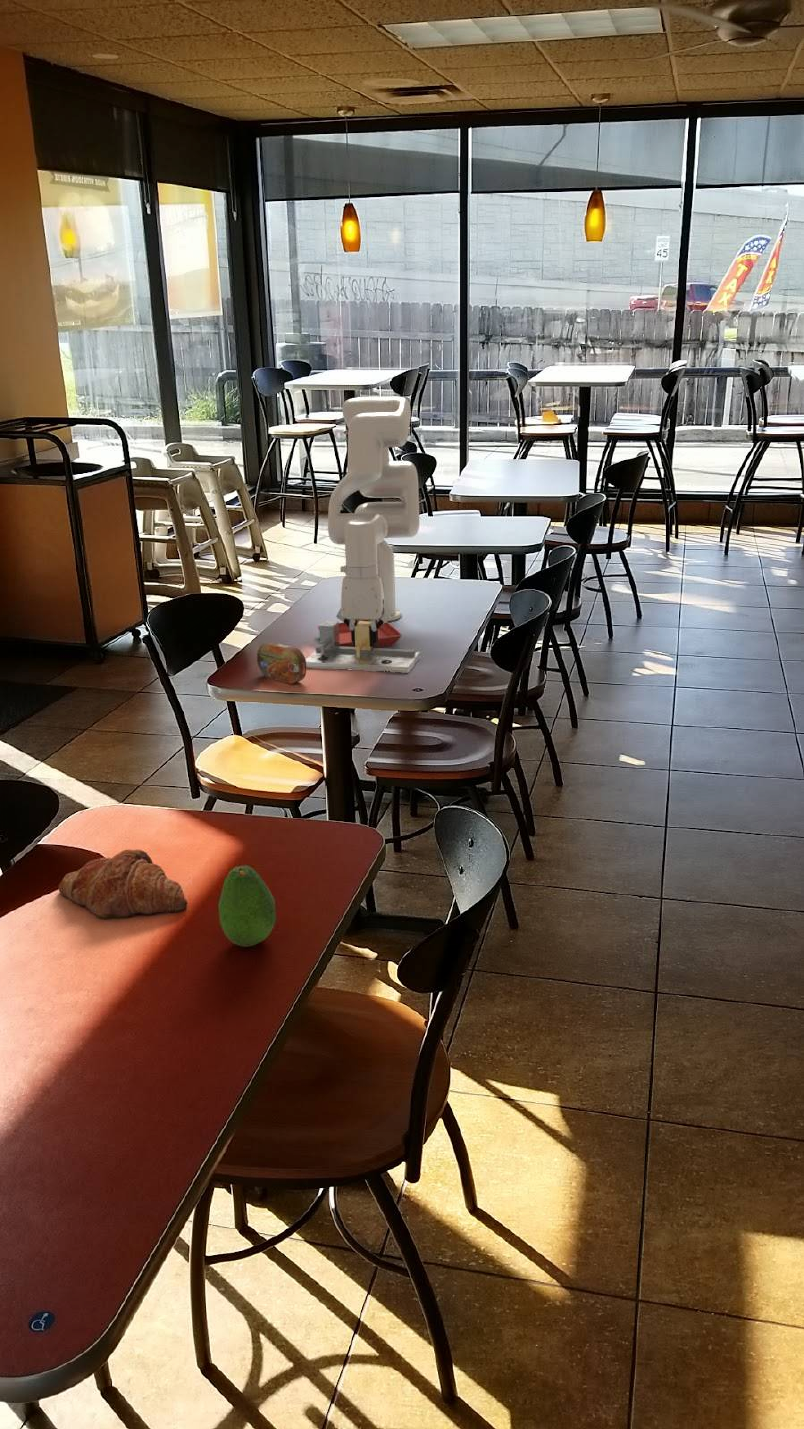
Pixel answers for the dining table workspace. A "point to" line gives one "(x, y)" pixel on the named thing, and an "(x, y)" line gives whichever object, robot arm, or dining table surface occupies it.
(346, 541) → the robot arm
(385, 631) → the plant saucer
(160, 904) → the pastry
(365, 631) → the tan stemmed block
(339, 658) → the hole plate
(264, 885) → the avocado
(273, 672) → the tin
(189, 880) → the dining table surface
